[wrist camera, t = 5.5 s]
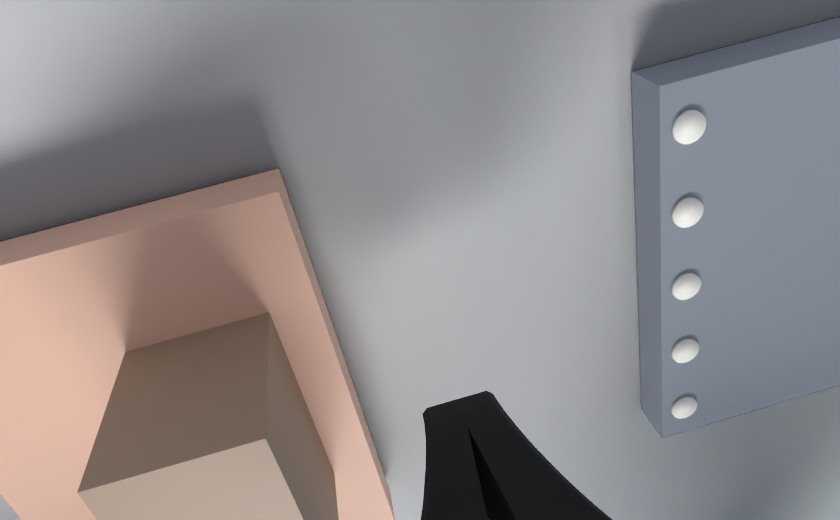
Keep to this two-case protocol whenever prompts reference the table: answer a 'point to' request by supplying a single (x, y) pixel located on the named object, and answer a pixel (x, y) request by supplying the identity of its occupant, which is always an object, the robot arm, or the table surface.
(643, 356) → the board
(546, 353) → the table surface
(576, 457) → the table surface
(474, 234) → the table surface
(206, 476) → the stub
